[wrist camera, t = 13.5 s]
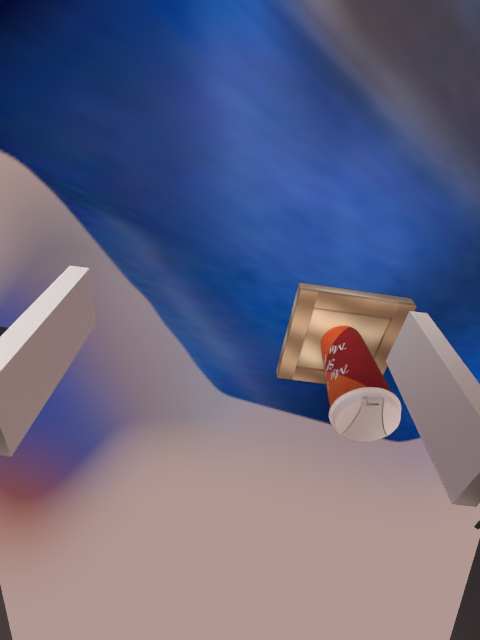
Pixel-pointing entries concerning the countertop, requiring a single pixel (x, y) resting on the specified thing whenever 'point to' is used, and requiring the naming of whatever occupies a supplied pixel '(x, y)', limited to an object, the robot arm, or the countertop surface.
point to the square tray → (338, 310)
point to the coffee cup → (357, 388)
